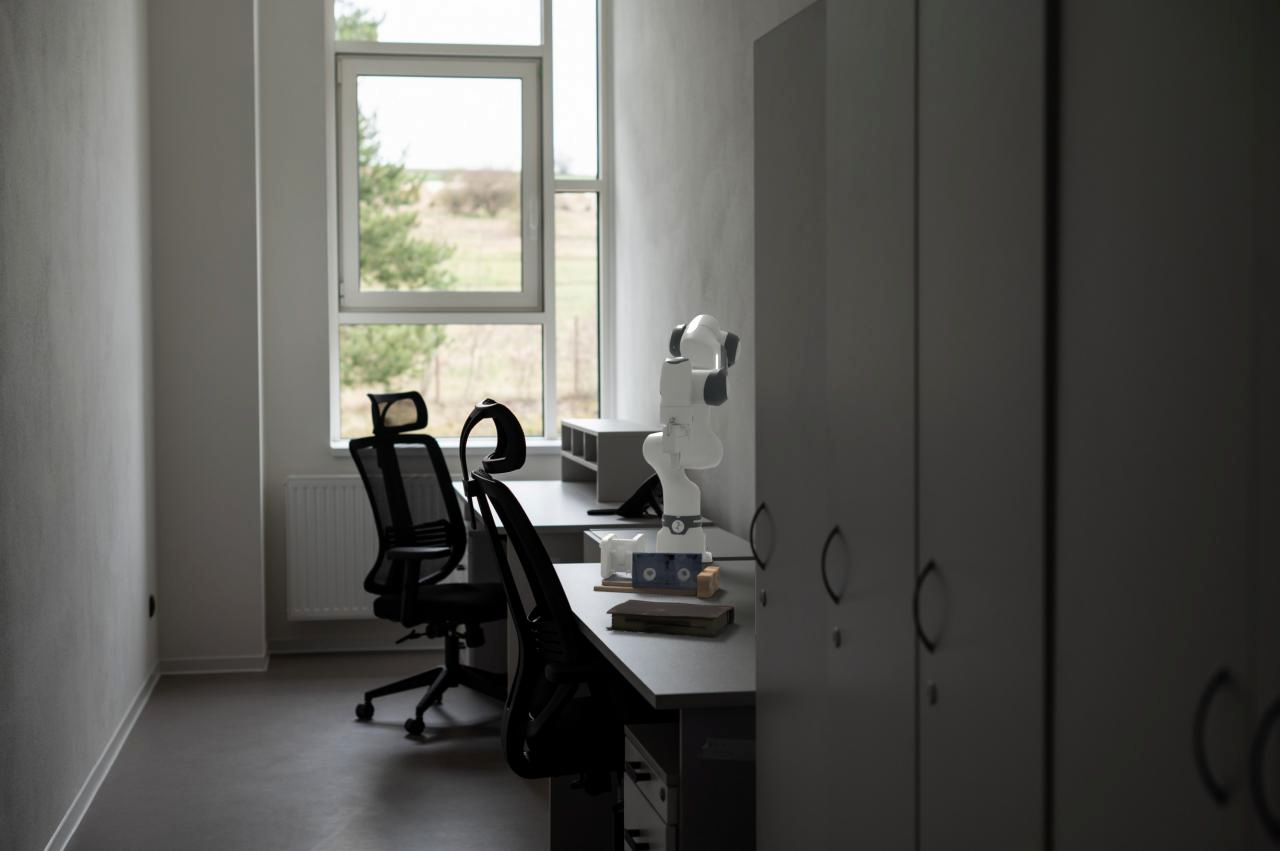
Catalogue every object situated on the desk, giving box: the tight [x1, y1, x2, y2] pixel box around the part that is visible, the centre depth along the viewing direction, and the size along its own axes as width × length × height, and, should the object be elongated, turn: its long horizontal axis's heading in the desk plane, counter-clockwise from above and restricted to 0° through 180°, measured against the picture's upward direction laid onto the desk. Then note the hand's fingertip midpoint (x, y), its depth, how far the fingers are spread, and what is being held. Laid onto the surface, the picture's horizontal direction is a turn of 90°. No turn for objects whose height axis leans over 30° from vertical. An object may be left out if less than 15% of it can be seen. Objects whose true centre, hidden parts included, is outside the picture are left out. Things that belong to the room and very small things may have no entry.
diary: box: [605, 598, 736, 639], centre depth 284 cm, size 19×25×5 cm
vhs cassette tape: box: [631, 552, 703, 591], centre depth 330 cm, size 18×3×10 cm, turn 90°
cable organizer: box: [598, 533, 646, 580], centre depth 351 cm, size 15×11×12 cm
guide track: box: [593, 565, 721, 599], centre depth 331 cm, size 16×31×6 cm, turn 77°
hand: (675, 468), depth 341 cm, fingers closed
